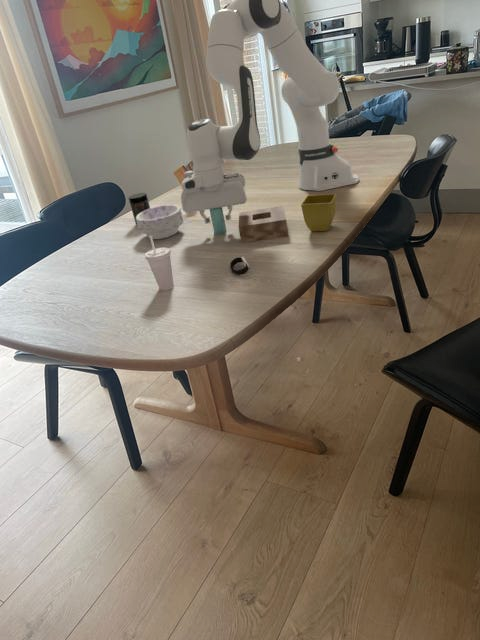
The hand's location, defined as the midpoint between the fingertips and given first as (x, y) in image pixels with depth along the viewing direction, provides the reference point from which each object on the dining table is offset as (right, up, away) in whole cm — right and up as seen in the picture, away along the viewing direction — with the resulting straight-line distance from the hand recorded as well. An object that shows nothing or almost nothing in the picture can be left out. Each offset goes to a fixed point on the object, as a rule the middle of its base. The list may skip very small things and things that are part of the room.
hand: (218, 221), depth 150 cm
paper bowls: (-19, -3, +10) cm, 22 cm away
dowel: (+1, -3, +2) cm, 4 cm away
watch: (+7, -19, -27) cm, 34 cm away
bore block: (+14, -4, -5) cm, 16 cm away
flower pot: (+31, -5, -11) cm, 33 cm away
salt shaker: (-11, +14, +36) cm, 40 cm away
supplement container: (-29, +4, +26) cm, 39 cm away
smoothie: (-12, -23, -29) cm, 39 cm away
